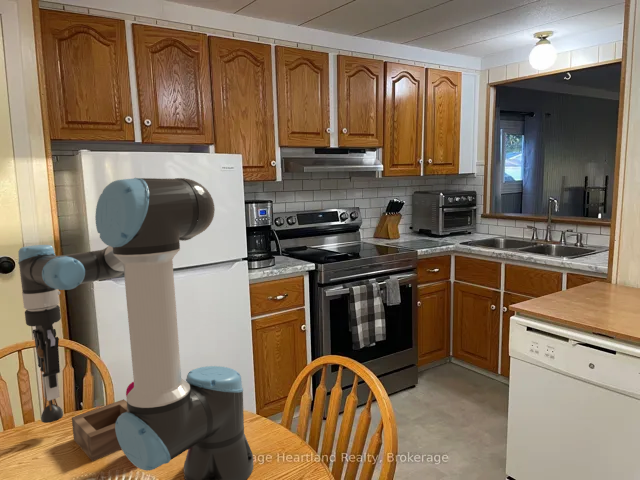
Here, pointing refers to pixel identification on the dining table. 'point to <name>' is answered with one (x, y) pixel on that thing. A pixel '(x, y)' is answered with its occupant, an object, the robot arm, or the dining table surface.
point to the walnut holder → (98, 430)
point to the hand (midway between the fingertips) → (52, 397)
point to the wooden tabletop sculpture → (52, 410)
